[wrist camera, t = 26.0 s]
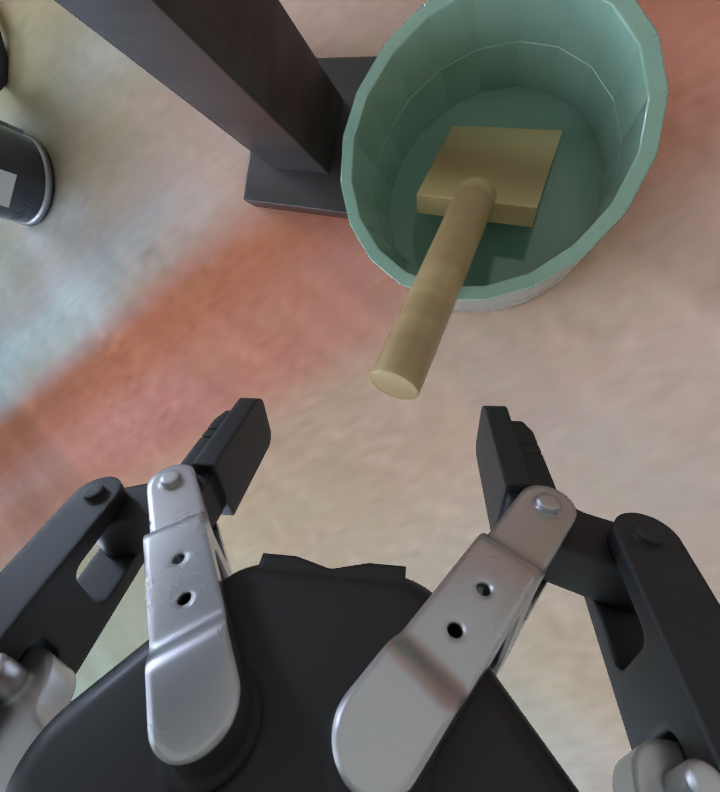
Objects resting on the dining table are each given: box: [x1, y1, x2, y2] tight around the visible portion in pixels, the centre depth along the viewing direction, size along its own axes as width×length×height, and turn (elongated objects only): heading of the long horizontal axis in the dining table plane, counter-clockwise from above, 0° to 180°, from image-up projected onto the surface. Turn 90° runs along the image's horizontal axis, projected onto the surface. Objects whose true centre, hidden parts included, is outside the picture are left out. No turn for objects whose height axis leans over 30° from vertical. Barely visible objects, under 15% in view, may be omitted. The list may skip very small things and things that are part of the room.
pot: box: [341, 0, 669, 312], centre depth 21 cm, size 14×14×8 cm
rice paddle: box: [370, 125, 563, 400], centre depth 18 cm, size 19×6×2 cm
